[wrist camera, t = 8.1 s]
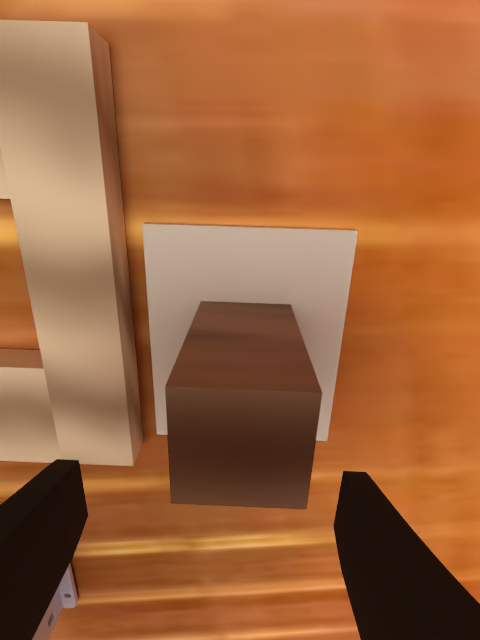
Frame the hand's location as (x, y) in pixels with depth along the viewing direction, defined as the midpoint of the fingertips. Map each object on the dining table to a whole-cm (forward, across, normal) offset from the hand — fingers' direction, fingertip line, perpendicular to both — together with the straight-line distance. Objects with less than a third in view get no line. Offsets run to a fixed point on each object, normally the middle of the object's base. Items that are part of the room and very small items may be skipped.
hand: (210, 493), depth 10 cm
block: (+9, -1, 0) cm, 9 cm away
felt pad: (+10, -1, 0) cm, 10 cm away
